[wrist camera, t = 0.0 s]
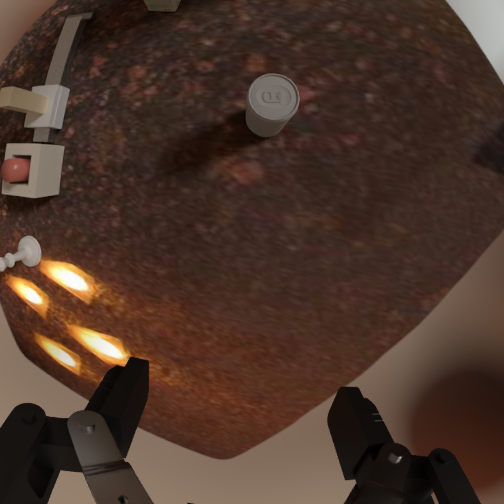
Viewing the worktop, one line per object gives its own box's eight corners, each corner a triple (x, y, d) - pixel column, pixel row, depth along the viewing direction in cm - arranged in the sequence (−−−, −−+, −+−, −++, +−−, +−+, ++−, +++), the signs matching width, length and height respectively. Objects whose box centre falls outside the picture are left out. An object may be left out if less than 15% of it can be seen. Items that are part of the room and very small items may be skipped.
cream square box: (29, 145, 36) (6, 143, 30) (64, 146, 36) (41, 143, 30) (24, 190, 37) (0, 193, 31) (58, 194, 38) (35, 198, 32)
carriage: (44, 91, 33) (-2, 75, 22) (70, 89, 34) (25, 70, 23) (36, 128, 35) (-13, 122, 24) (61, 128, 35) (13, 120, 24)
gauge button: (24, 158, 33) (2, 158, 28) (38, 158, 33) (17, 158, 28) (22, 179, 33) (0, 181, 29) (36, 180, 34) (14, 182, 29)
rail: (69, 17, 31) (64, 13, 29) (95, 14, 31) (90, 8, 29) (35, 142, 35) (28, 141, 34) (59, 142, 36) (52, 141, 34)
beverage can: (284, 138, 37) (301, 122, 25) (245, 137, 37) (246, 121, 25) (283, 102, 36) (300, 73, 24) (245, 101, 36) (246, 71, 24)
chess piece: (36, 232, 39) (-4, 247, 29) (44, 263, 40) (6, 283, 30) (17, 239, 39) (-23, 254, 29) (25, 268, 40) (-13, 288, 30)
